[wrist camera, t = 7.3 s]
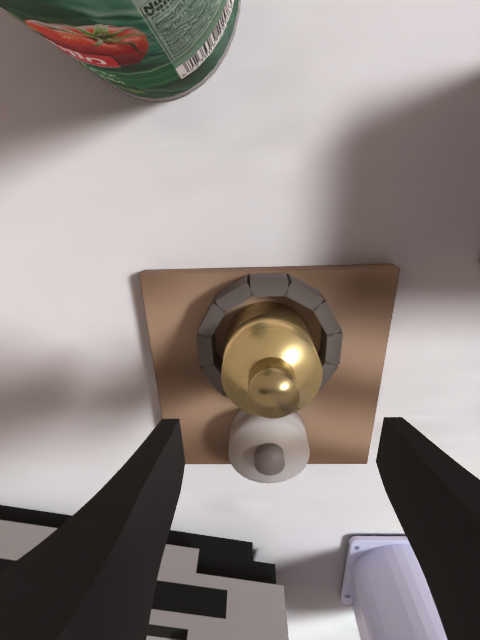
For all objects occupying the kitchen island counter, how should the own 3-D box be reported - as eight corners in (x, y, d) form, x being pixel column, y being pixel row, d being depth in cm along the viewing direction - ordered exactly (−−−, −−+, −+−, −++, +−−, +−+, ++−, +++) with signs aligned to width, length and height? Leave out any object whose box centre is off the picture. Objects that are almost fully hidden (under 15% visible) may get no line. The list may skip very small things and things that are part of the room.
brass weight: (312, 367, 19) (335, 433, 14) (235, 379, 20) (230, 447, 15) (302, 293, 18) (324, 339, 12) (218, 309, 18) (206, 359, 13)
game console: (-99, 480, 26) (-238, 599, 19) (279, 537, 28) (291, 668, 20) (-54, 615, 35) (-139, 736, 27) (237, 653, 36) (233, 778, 29)
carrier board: (362, 452, 23) (382, 500, 20) (172, 453, 24) (159, 499, 20) (392, 263, 18) (427, 283, 14) (144, 269, 18) (120, 290, 15)
